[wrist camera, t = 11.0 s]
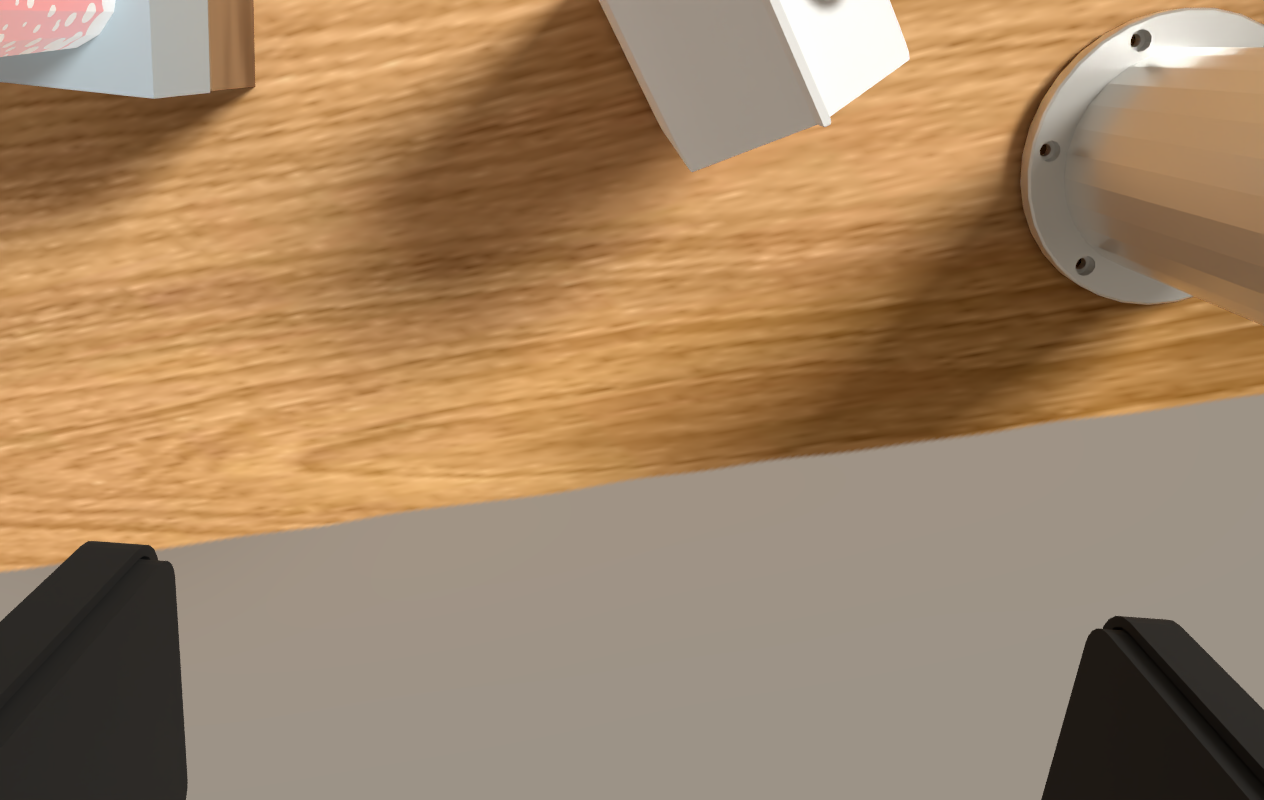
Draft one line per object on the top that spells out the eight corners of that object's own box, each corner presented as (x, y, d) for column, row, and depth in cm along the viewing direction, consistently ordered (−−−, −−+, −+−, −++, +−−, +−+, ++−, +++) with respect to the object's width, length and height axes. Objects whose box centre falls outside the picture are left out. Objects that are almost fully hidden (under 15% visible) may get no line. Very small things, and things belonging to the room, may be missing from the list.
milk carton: (663, 133, 44) (701, 191, 26) (586, -25, 41) (570, -82, 24) (812, 54, 43) (960, 57, 25) (741, -111, 41) (848, -239, 23)
